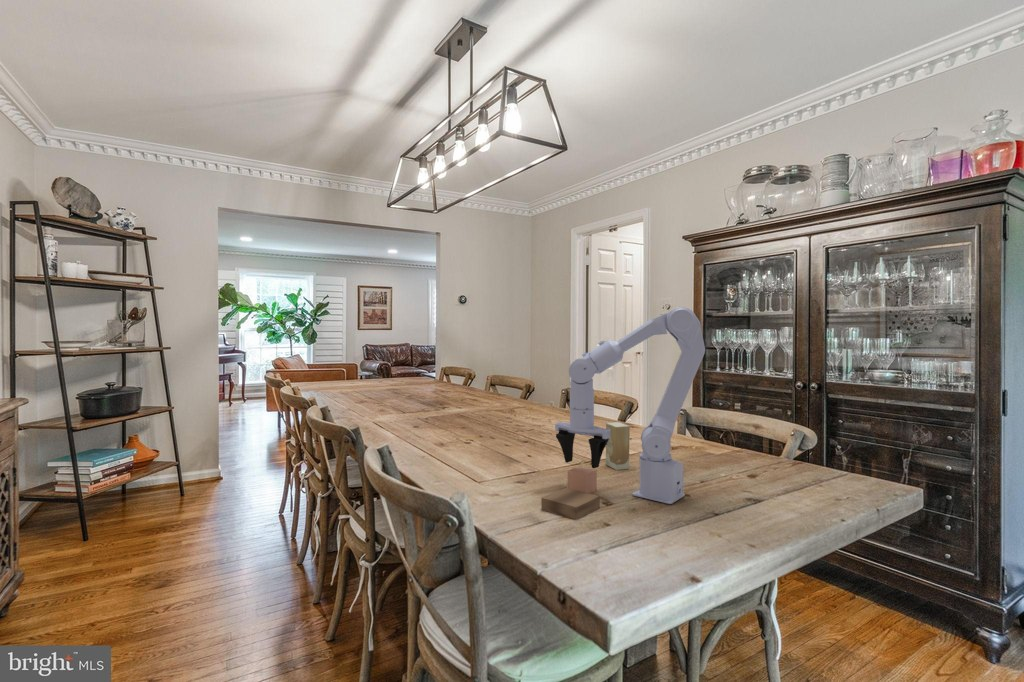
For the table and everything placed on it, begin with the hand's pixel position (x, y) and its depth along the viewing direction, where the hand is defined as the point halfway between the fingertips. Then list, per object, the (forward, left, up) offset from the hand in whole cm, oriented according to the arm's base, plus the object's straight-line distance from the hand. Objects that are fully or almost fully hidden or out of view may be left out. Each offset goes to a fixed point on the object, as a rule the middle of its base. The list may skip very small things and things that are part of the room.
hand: (581, 464), depth 118 cm
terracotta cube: (0, 0, -6) cm, 6 cm away
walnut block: (-5, +12, -7) cm, 15 cm away
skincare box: (+4, -24, -7) cm, 25 cm away
